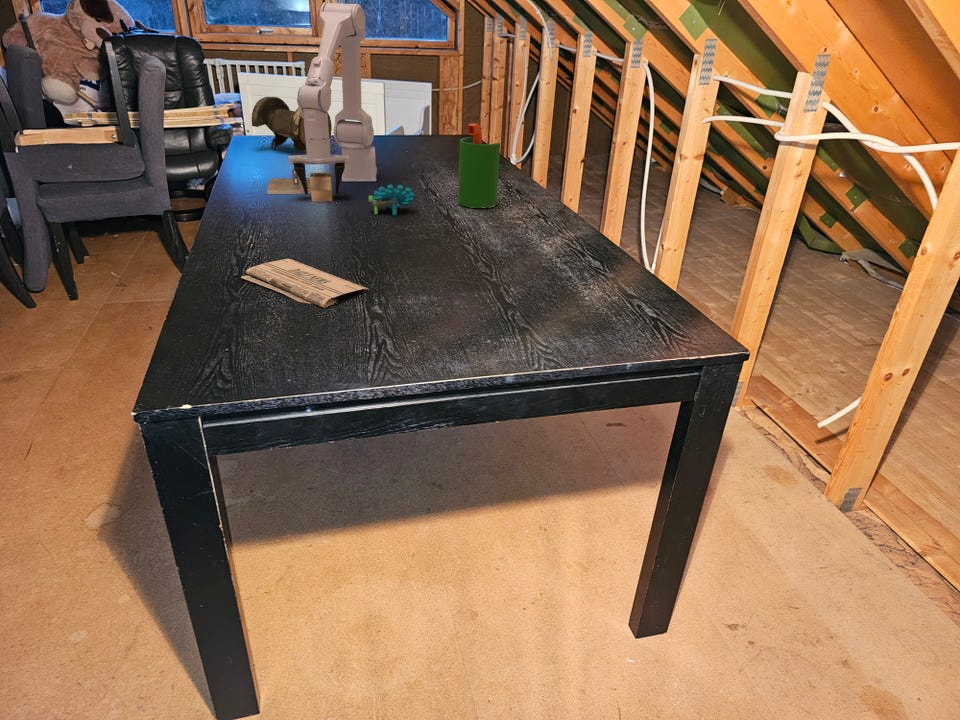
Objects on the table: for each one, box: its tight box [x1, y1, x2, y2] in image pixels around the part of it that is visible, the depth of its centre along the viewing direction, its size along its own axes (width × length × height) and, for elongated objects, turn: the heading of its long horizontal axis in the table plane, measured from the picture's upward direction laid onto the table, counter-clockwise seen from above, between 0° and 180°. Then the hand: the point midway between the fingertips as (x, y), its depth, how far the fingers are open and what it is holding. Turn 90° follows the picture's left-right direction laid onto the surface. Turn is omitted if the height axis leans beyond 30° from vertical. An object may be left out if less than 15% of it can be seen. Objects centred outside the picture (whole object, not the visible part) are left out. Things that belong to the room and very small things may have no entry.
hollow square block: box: [309, 172, 333, 203], centre depth 166 cm, size 5×5×6 cm
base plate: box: [266, 167, 311, 195], centre depth 174 cm, size 16×12×5 cm
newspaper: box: [240, 258, 370, 309], centre depth 119 cm, size 23×12×2 cm, turn 52°
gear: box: [368, 184, 415, 217], centre depth 158 cm, size 11×6×10 cm
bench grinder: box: [251, 96, 333, 155], centre depth 208 cm, size 20×22×20 cm
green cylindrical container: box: [457, 123, 501, 208], centre depth 163 cm, size 10×9×20 cm
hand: (321, 193), depth 166 cm, fingers open, 7 cm apart
